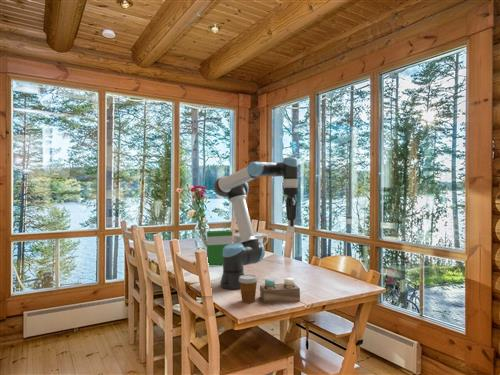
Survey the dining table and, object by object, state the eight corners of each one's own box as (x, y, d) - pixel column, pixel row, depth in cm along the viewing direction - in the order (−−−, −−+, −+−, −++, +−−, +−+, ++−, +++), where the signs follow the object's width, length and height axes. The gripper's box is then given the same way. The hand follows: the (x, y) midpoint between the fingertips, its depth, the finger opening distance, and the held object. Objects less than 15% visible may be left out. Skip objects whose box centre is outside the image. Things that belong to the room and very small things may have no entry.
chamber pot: (225, 256, 276) (225, 230, 276) (239, 250, 301) (239, 226, 301) (258, 258, 265) (257, 232, 265) (269, 252, 291) (269, 227, 290)
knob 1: (264, 296, 173) (264, 279, 173) (273, 296, 174) (273, 278, 174) (266, 300, 169) (266, 281, 168) (275, 299, 169) (275, 281, 169)
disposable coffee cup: (235, 303, 167) (235, 278, 167) (243, 296, 176) (242, 273, 175) (254, 305, 163) (253, 280, 163) (260, 298, 172) (260, 275, 172)
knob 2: (283, 295, 175) (283, 277, 175) (292, 294, 176) (292, 277, 176) (286, 298, 170) (285, 280, 170) (295, 297, 171) (295, 279, 171)
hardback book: (230, 262, 255) (230, 230, 254) (232, 264, 247) (232, 231, 247) (207, 263, 250) (206, 231, 250) (208, 266, 243) (207, 232, 243)
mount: (260, 296, 176) (260, 285, 176) (293, 294, 179) (293, 282, 179) (264, 303, 166) (264, 290, 166) (300, 300, 169) (299, 288, 169)
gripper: (301, 187, 172) (302, 233, 173) (293, 187, 185) (294, 230, 185) (287, 187, 171) (287, 234, 171) (280, 187, 184) (280, 231, 184)
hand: (291, 232), depth 178 cm, fingers closed
